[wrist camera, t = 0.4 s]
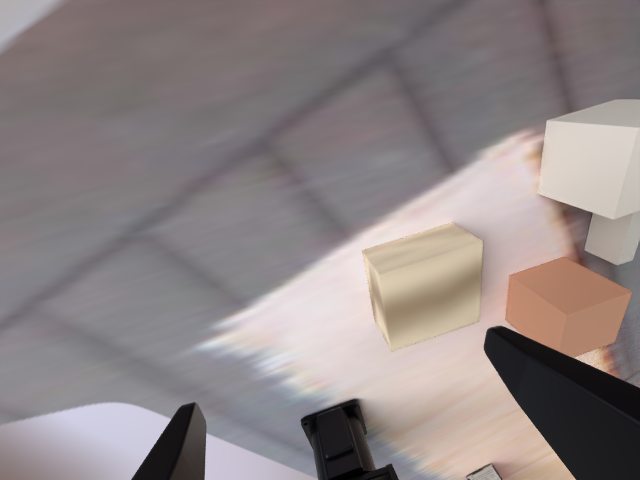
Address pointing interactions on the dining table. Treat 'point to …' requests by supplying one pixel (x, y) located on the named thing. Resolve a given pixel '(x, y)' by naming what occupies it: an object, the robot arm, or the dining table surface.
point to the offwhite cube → (594, 159)
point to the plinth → (614, 237)
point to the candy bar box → (485, 474)
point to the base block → (425, 284)
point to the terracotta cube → (566, 306)
